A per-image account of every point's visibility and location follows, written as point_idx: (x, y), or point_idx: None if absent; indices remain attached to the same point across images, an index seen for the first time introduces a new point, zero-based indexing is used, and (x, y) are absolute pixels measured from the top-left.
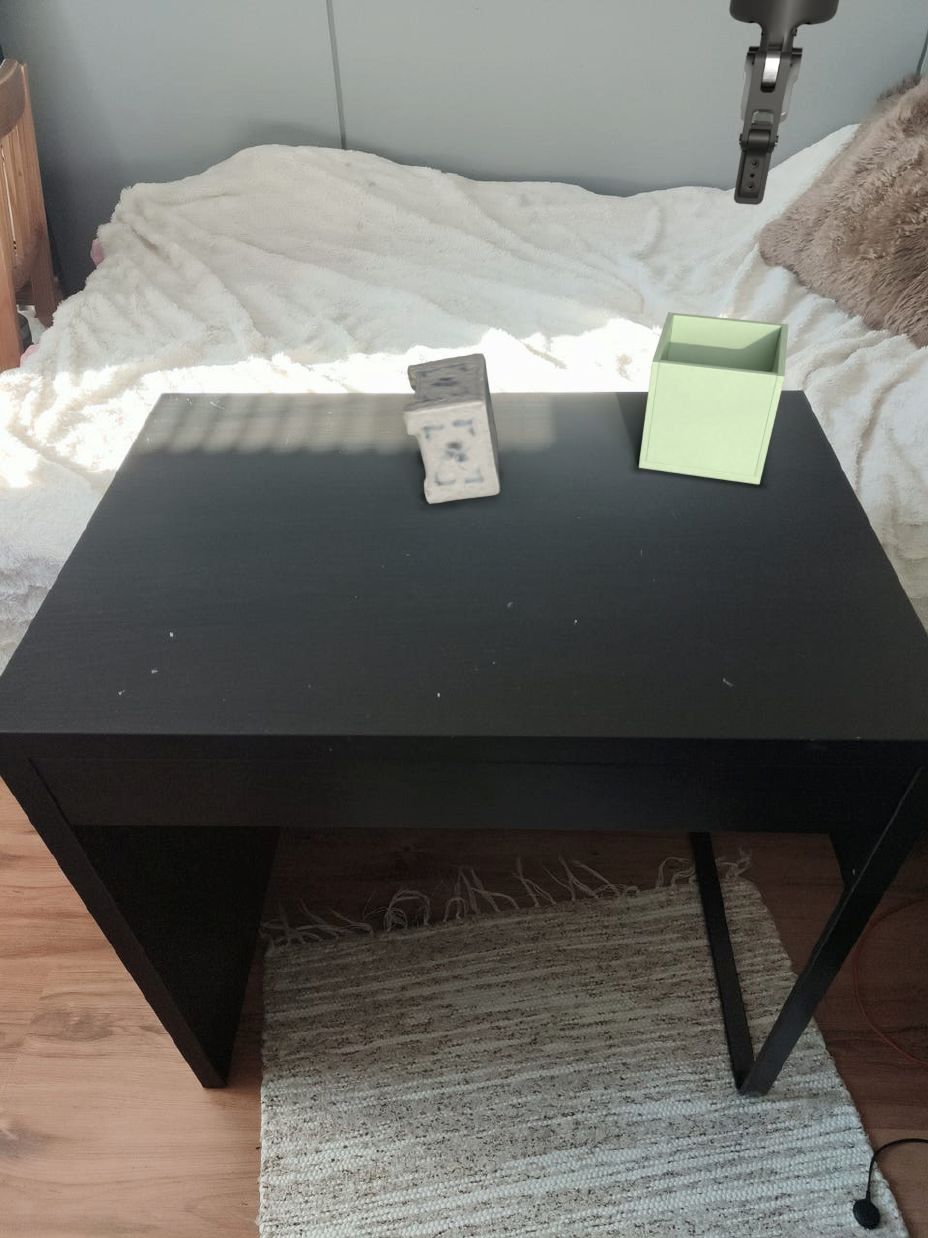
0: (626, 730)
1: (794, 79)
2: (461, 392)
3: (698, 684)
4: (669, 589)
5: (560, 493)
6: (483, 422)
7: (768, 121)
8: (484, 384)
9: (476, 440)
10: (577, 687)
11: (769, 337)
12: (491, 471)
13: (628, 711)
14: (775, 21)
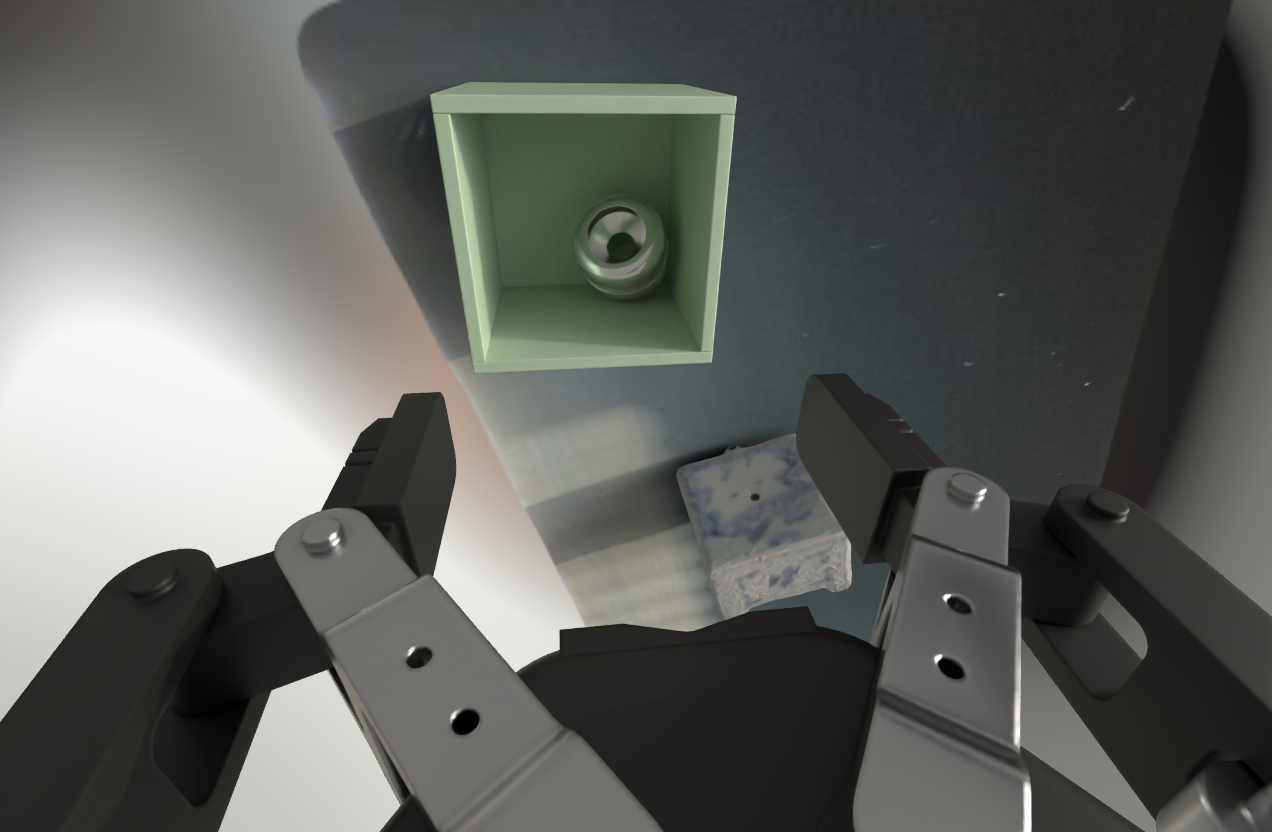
0: (1170, 210)
1: (950, 719)
2: (820, 557)
3: (1122, 140)
4: (951, 198)
5: (754, 368)
6: None
7: (393, 547)
8: (798, 543)
9: None
10: (1101, 270)
11: (458, 136)
12: None
13: (1145, 212)
14: None
